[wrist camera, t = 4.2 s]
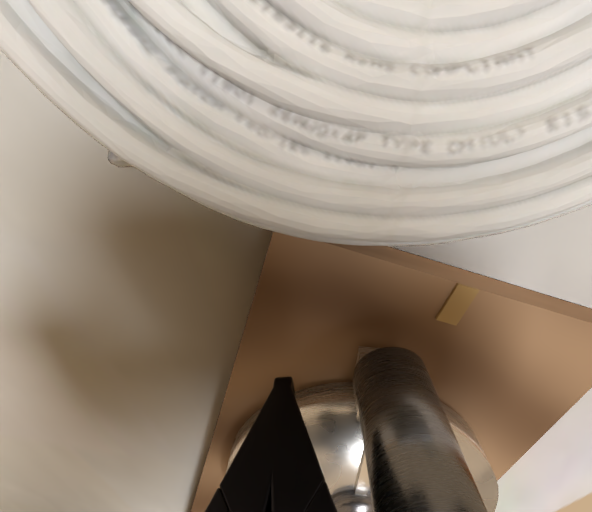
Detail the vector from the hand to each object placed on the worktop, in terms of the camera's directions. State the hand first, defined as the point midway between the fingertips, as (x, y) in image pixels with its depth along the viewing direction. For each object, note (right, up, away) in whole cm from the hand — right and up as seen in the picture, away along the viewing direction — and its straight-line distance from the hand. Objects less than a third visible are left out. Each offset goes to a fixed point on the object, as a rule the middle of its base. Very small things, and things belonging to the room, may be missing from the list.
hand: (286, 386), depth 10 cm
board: (+3, -6, +8) cm, 10 cm away
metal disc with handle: (+3, -5, +5) cm, 8 cm away
